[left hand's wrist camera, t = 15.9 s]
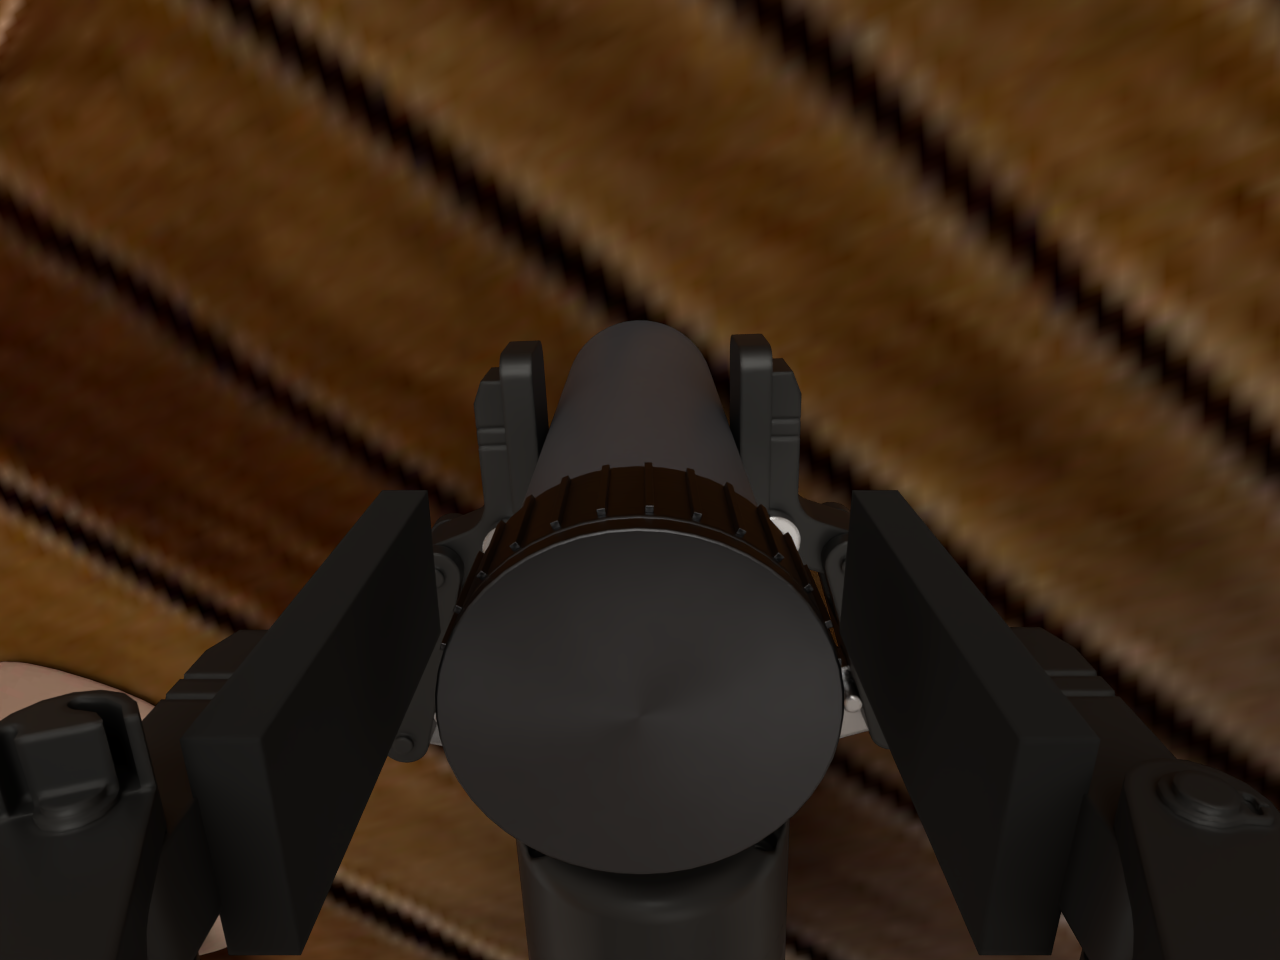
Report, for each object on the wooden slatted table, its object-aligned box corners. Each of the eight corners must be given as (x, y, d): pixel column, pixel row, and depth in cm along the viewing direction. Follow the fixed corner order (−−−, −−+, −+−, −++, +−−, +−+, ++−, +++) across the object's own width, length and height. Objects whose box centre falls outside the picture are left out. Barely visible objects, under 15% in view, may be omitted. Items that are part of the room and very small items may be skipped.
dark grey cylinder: (561, 323, 25) (448, 537, 10) (711, 316, 25) (814, 522, 10) (572, 464, 26) (488, 827, 12) (713, 458, 26) (806, 815, 12)
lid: (420, 707, 13) (378, 810, 11) (533, 404, 11) (508, 457, 9) (728, 807, 14) (744, 923, 11) (877, 536, 12) (927, 612, 10)
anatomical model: (-203, 719, 25) (192, 760, 25) (-91, 647, 28) (250, 684, 29) (-120, 1034, 29) (212, 1064, 30) (-34, 937, 33) (260, 964, 33)
